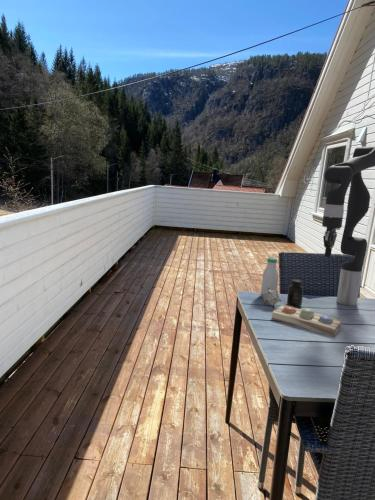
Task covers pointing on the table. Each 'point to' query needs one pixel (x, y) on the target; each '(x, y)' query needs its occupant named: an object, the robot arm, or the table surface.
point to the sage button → (307, 313)
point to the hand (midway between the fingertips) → (327, 256)
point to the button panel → (307, 321)
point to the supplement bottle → (295, 293)
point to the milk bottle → (270, 276)
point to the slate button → (325, 319)
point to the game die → (271, 297)
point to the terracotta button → (289, 309)
